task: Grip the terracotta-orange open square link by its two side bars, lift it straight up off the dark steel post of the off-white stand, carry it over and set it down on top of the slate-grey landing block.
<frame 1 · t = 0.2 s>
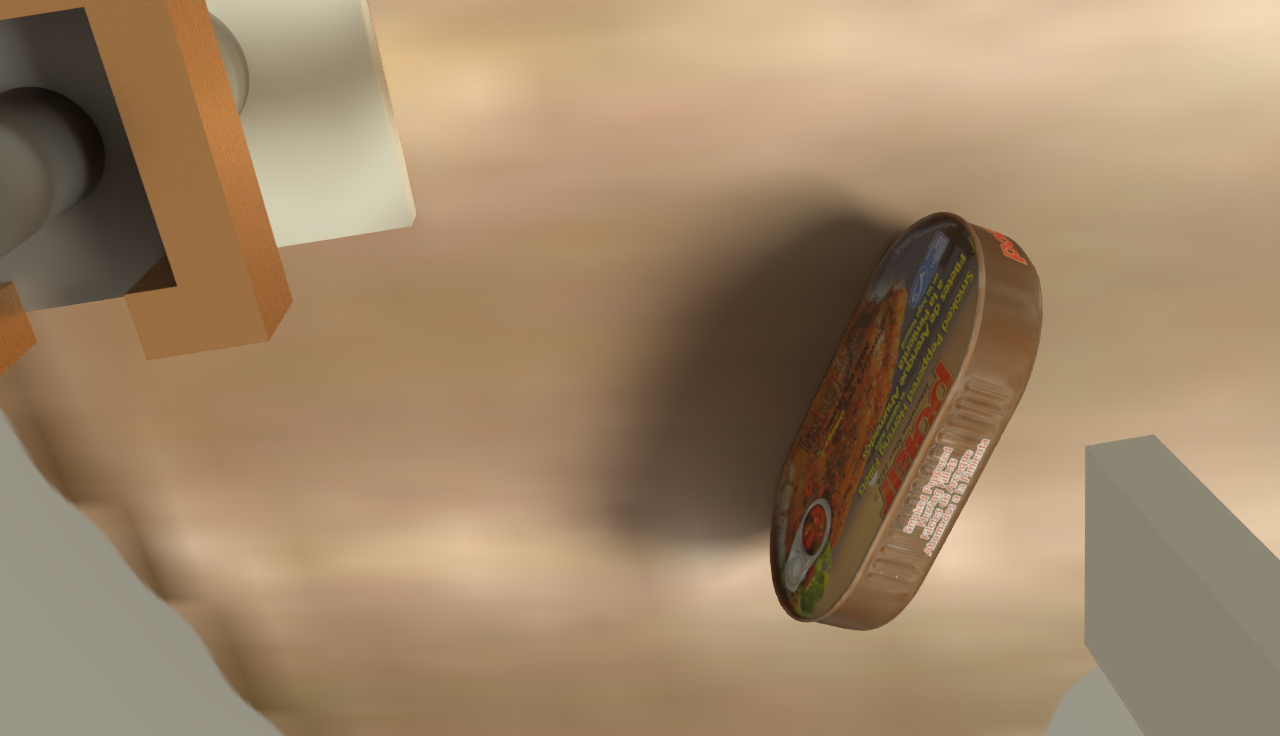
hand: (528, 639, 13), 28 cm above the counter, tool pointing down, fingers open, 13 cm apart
link: (41, 148, 26), point 11 cm above the counter, touching post stand
post stand: (190, 63, 37), on the counter
tin: (863, 377, 43), on the counter
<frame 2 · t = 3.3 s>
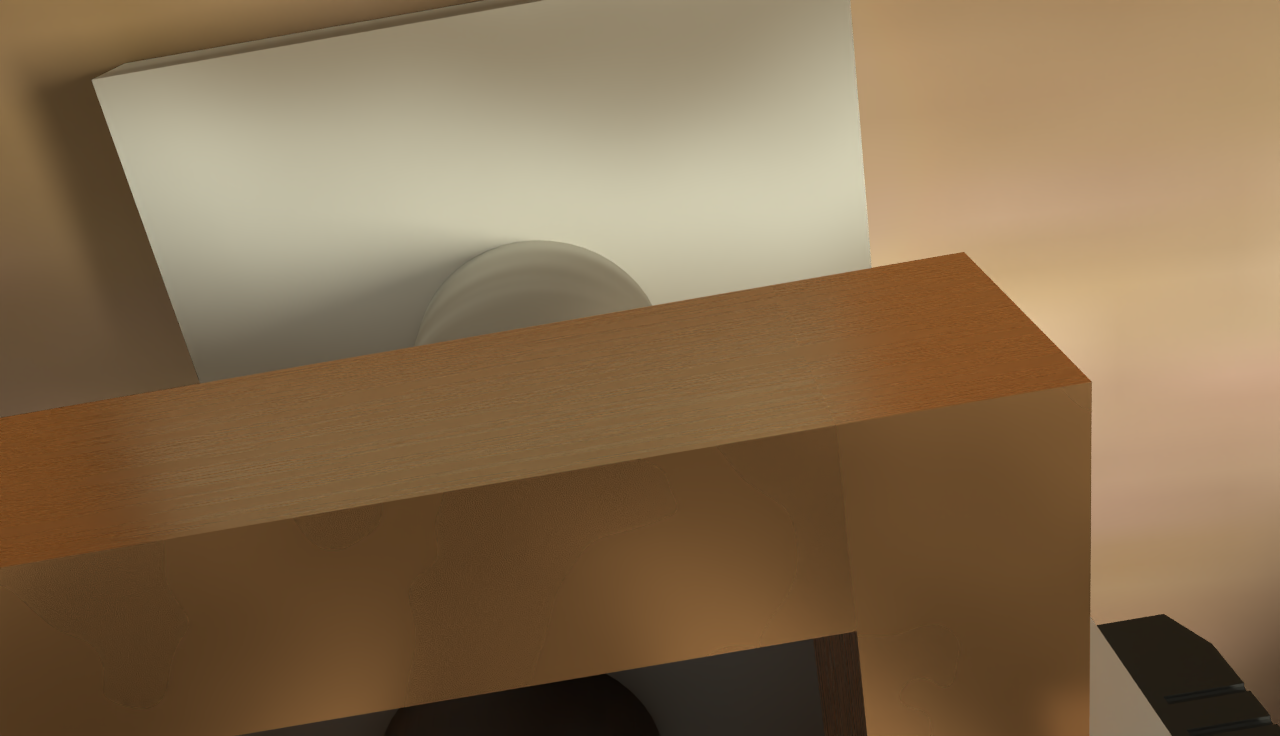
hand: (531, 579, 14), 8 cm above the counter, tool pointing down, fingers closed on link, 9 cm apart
post stand: (543, 326, 22), on the counter
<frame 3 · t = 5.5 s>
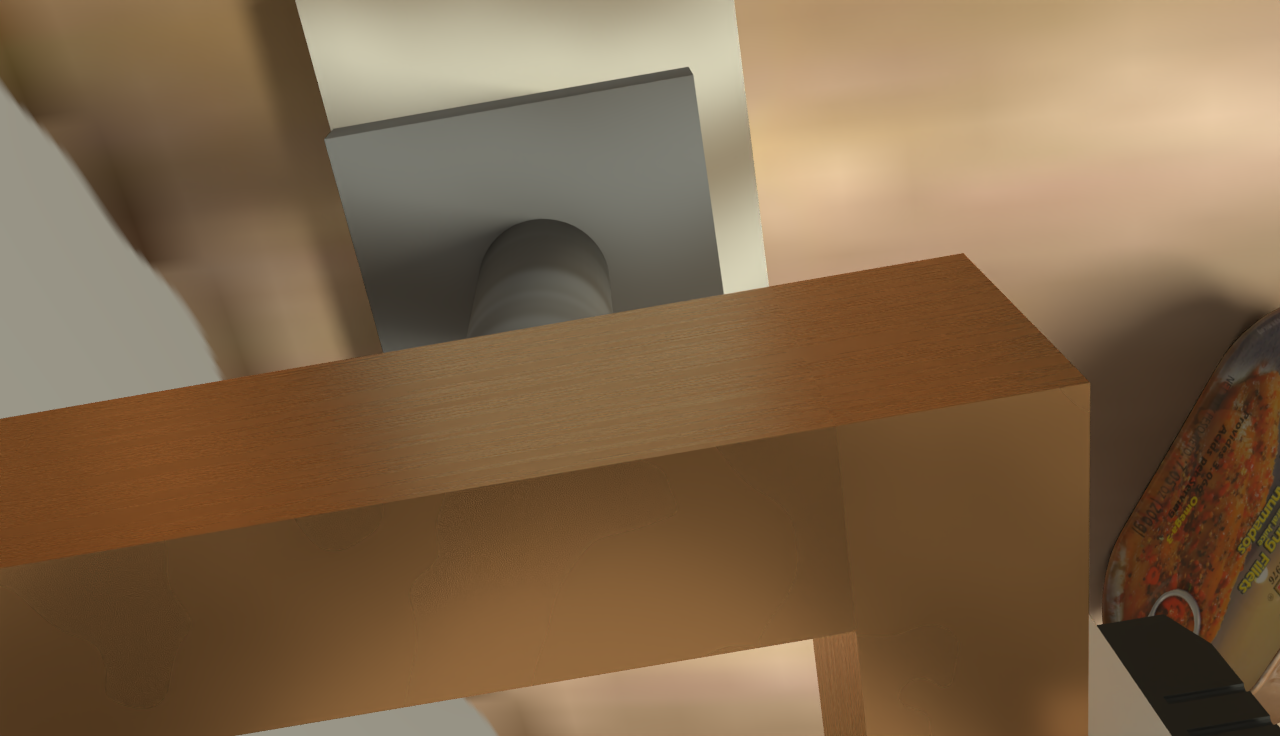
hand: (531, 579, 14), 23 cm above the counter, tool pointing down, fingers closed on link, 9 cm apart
post stand: (550, 155, 35), on the counter
tin: (1201, 457, 41), on the counter
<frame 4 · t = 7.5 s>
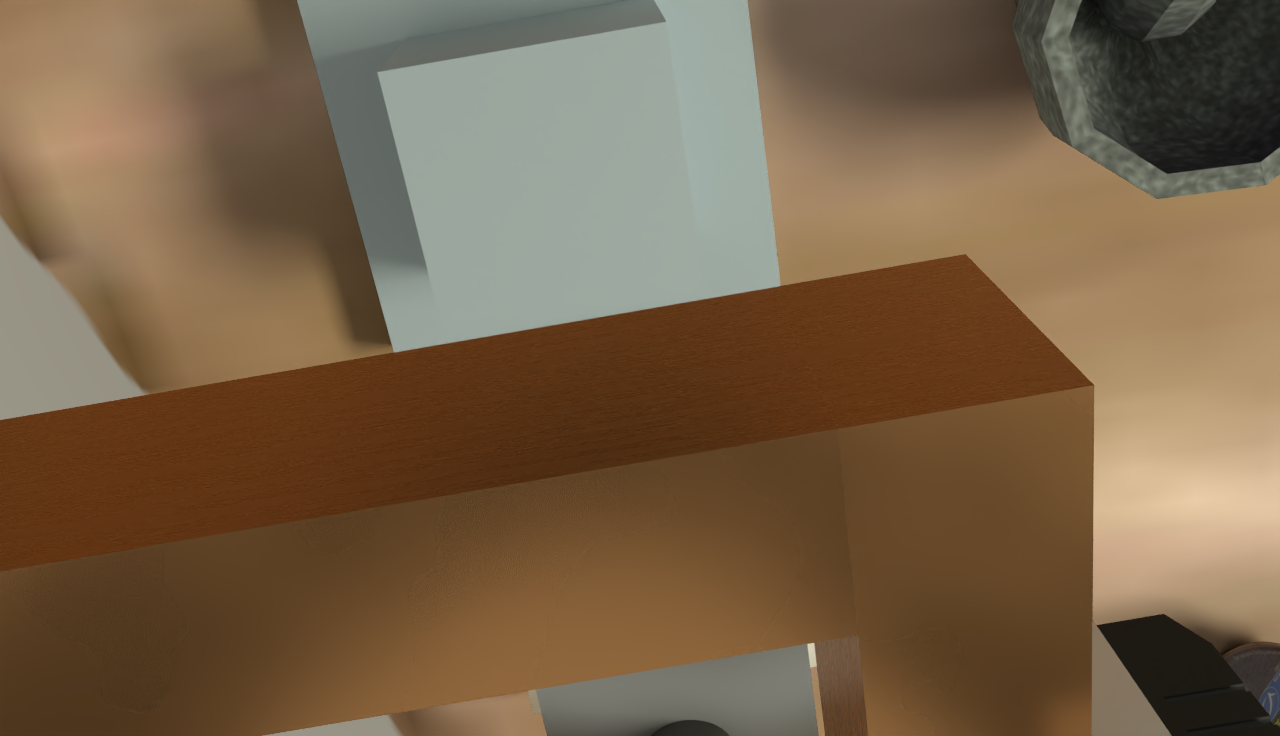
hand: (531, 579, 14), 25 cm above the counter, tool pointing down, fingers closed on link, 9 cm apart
landing block: (552, 128, 37), on the counter
post stand: (658, 538, 43), on the counter
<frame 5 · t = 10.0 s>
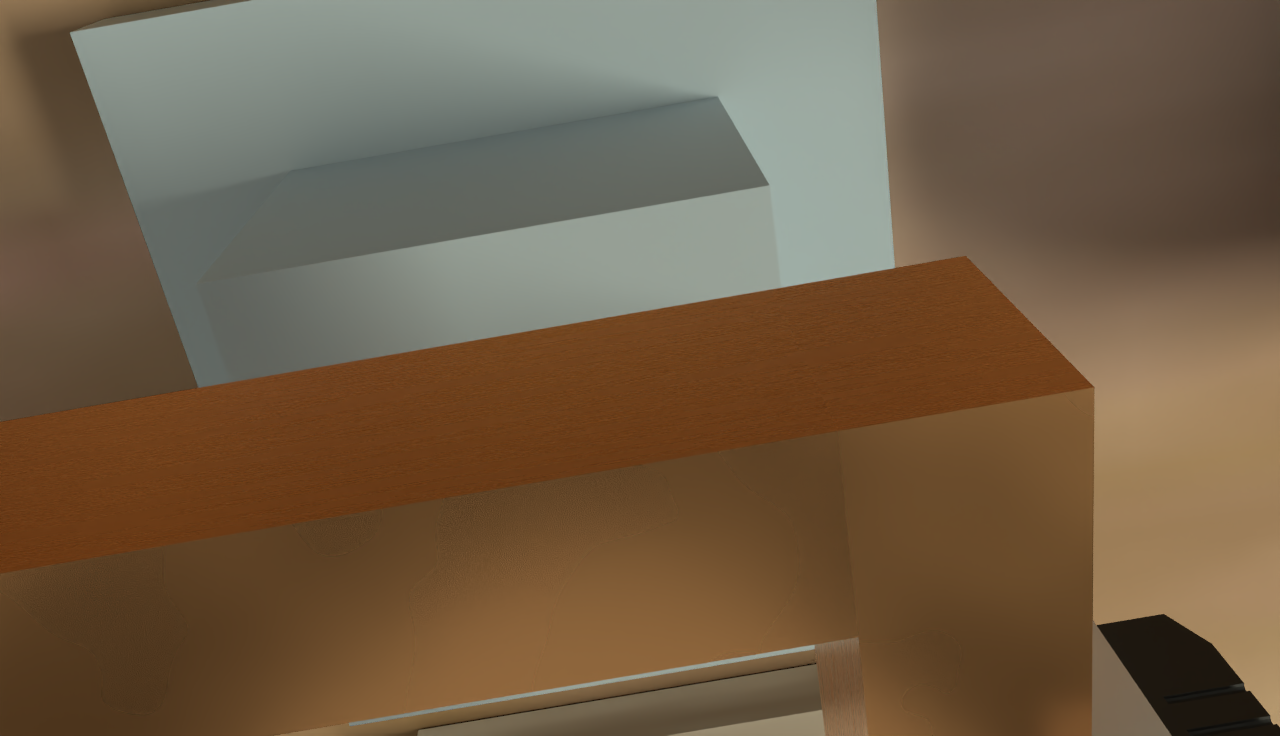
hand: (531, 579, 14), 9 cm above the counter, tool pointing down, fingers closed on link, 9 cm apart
landing block: (546, 300, 22), on the counter
when the fingers open (5 cm above the counter, at t = 11.9 s): link drops 2 cm, resting on landing block.
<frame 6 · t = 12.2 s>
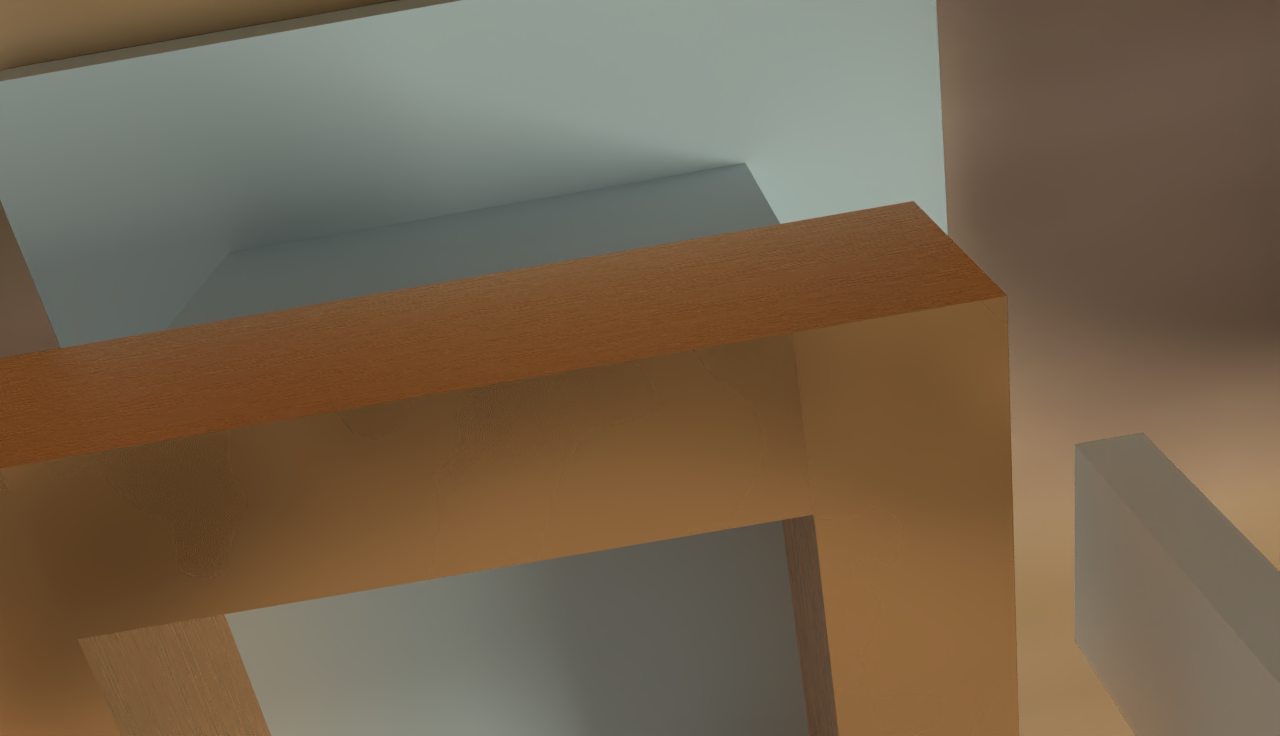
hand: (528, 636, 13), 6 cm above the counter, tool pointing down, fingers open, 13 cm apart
link: (527, 668, 13), point 7 cm above the counter, touching landing block
landing block: (539, 394, 19), on the counter
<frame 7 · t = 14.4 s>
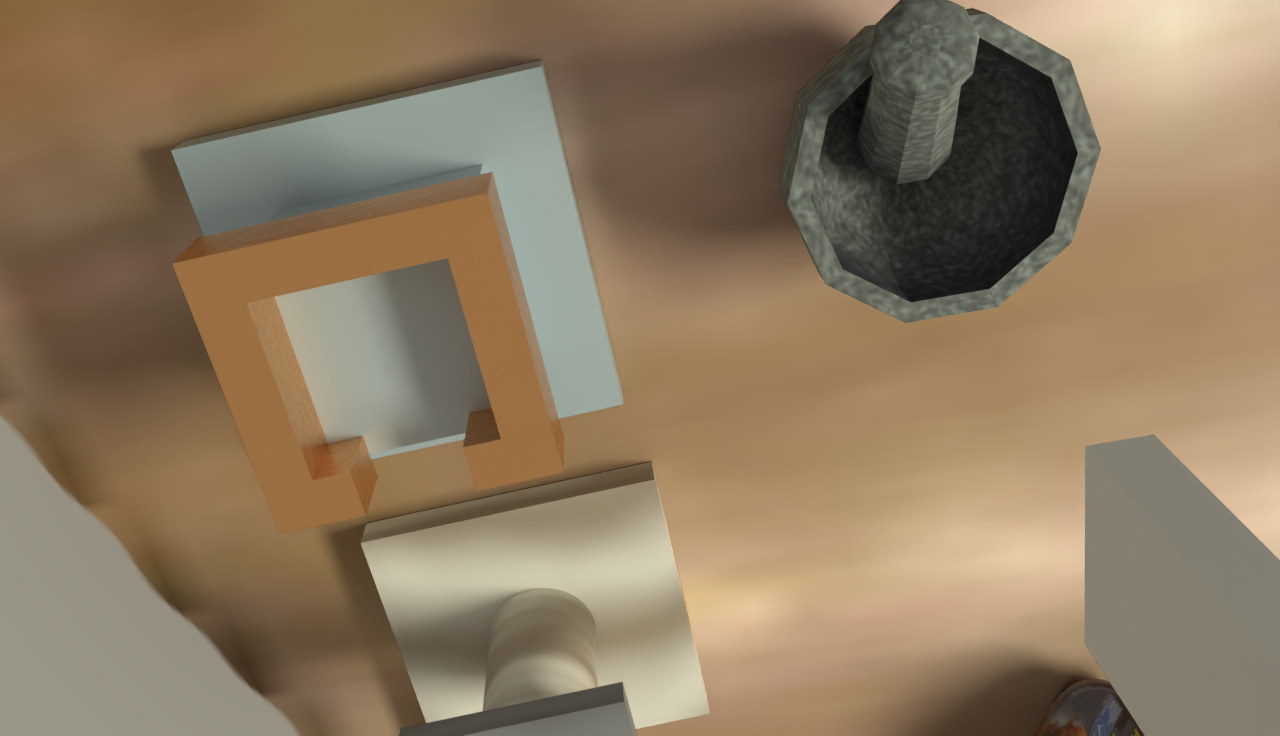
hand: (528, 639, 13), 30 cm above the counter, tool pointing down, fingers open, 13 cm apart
link: (389, 341, 37), point 7 cm above the counter, touching landing block
mortar and pestle: (878, 112, 42), on the counter
landing block: (415, 271, 43), on the counter
post stand: (543, 611, 49), on the counter
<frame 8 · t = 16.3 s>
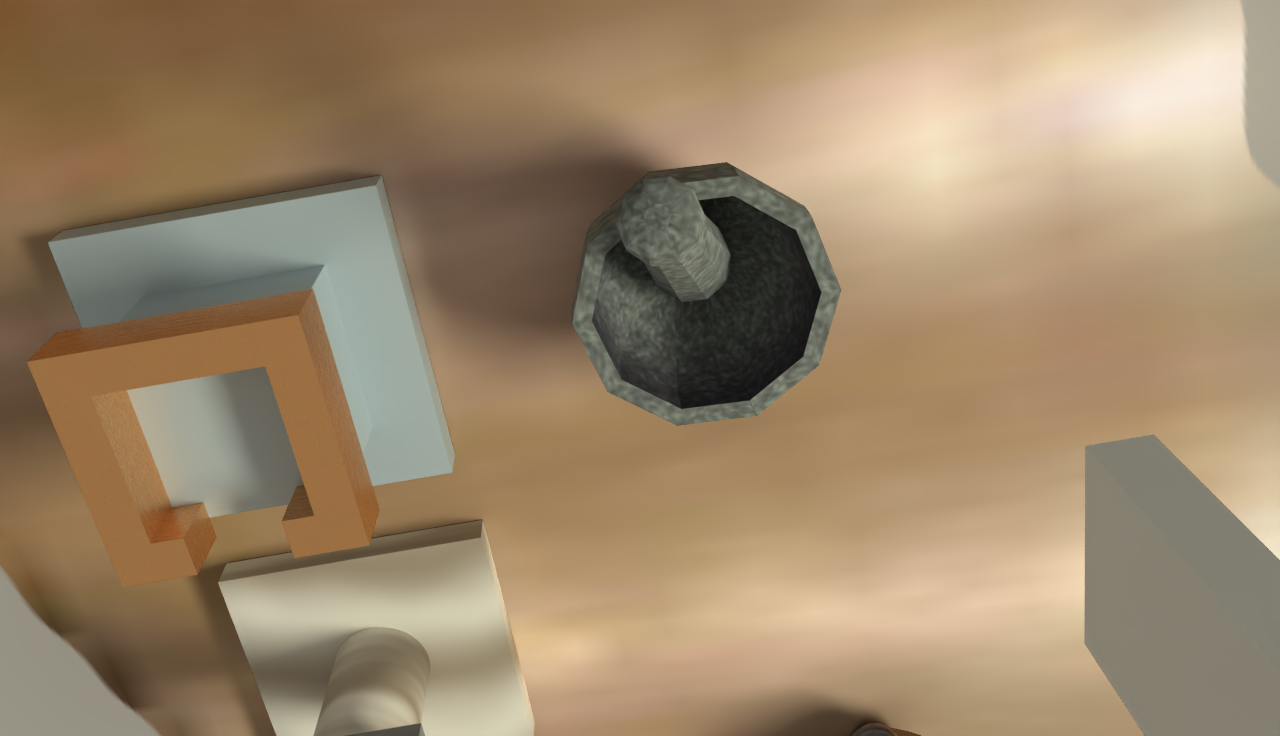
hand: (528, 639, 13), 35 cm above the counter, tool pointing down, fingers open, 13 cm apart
link: (225, 425, 42), point 7 cm above the counter, touching landing block
mortar and pestle: (680, 230, 48), on the counter
landing block: (269, 349, 49), on the counter
post stand: (387, 645, 55), on the counter
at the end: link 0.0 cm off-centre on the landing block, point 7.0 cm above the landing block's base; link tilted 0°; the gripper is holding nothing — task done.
